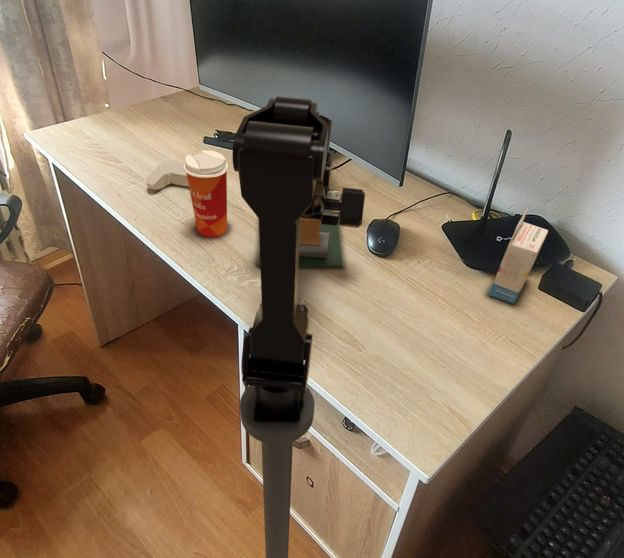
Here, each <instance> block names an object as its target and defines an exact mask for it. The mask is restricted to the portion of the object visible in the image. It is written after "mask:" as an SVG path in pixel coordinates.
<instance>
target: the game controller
mask: <svg viewBox="0 0 624 558" xmlns="http://www.w3.org/2000/svg"><path fill="white" fill-rule="evenodd" d="M184 163H185V162H178V161H177V160H166V161H163V162H162V163H160V164H159V165H158V166H157V167H155V168H154V169H153V170H152V171H151V172H150V173H149V175H148V176H147V178H146V186H147V188H149V189H150V190H155V191H158V190H161V189H163V188H165V187H167V186H169V185H170V184H172V185H177V186H183V187H188V188H189V185H188V179H187V174H186V172H185V171H184V168H183V166H184Z"/></svg>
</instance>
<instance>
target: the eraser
mask: <svg viewBox="0 0 624 558" xmlns="http://www.w3.org/2000/svg"><path fill="white" fill-rule="evenodd" d="M329 235H330V233H324V232H321V221H320V220H316V219H307V218H301V226H300V237H299V256H305V257H316V258H327V253H328V247H329Z"/></svg>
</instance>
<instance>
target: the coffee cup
mask: <svg viewBox="0 0 624 558" xmlns="http://www.w3.org/2000/svg"><path fill="white" fill-rule="evenodd" d="M183 163H184V166H183V168H184V171H185V172H186V174H187V179H188V185H189V187H188V189H189V194H190V199H191V200H190V201H191V204H192V209H193V214H194V219H195V224H196V228H197V232H198V233H199V234H200V235H201V236H203V237H206V238H216V237H220V236H222V235H224V234H225V233H226V232H227V230H228V180H227V179H228V178H227V177H228V175H227V174H228V173H227V171H228V170H229V164H228V162H227V160H226V158H225V156H224V155H223V154H222V153H220V152H218V151H214V150H205V149H204V150H200V151H195V152H193V153H192V154H190V153H189V154H188V155H187V156H186V157H185V160H184V162H183Z"/></svg>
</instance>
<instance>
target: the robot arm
mask: <svg viewBox="0 0 624 558" xmlns="http://www.w3.org/2000/svg"><path fill="white" fill-rule="evenodd" d="M318 108H319V107H318V102H313V100H312V99H311V98H299V97H289V96H280V95H279V96H278V95H277V96H275V98H273V97H270V98H269V99H268V102H267V103H266V106H264V107H262V108H260V109H258V110H257V109H256V111H253V112H251V113H249V114H247V115H245V116H244V117H242V120H241V122H240V124H239V126H238V129H237V130H236V132H235V134H234V137H233V142H232V167H233V171H234V172H236V173H238V179H239V187H240V195H241V198H242V200H243V201H244V202H245V203H246V204H247V206H248V207H249V209H250V210H251V211H252V212H253V214H254V215H255V216H256V218H257V219H258V238H259V239H258V241H259V258H260V266H259V268H260V295H261V296H260V297H261V302H260V303H259V308H258V310H257V311H256V312H255V317H254V320H253V325H252V326H250V327H249V328H248V331H247V334H246V335H245V336H244V337H243V340H242V352H241V363H240V364H241V365H240V366H241V375H242V377H241V382H242V384H243V386H246V387H248V386H249V385H251V386H254V397H255V404H254V421H255V422H299V421H300V409H303V408H304V393H306V388H308V380H309V375H310V370H311V369H310V367H311V357H312V348H313V347H312V346H313V337H314V334H311V333H309V317H308V315H309V309H308V308H307V306H306V304H300V303H299V304H298V295H299V294H298V293H299V291H298V290H299V267H298V266H299V237H300V218H307V219H316V220H320V221H321V224H324V225H333V226H336V225H337V224H338V226H341V227H345V228H354V229H358V228H359V227H361V226H362V224H363V215H364V208H365V207H364V206H365V198H366V192H365V191H364V190H363V189H361V188H350V187H342V191H339V190H331V189H330V185H331V184H330V183H331V176H332V171H333V164H334V155H335V151H334V150H330V145H331V136H332V127H333V120H331V119H329V118H328V117H326V116H324V115H321V114H320V112H319V111H318ZM256 418H259V419H256ZM295 418H298V419H295Z"/></svg>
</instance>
